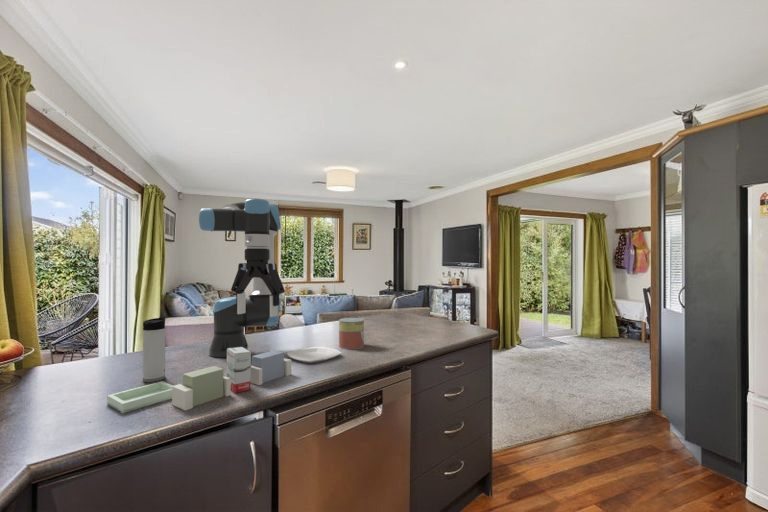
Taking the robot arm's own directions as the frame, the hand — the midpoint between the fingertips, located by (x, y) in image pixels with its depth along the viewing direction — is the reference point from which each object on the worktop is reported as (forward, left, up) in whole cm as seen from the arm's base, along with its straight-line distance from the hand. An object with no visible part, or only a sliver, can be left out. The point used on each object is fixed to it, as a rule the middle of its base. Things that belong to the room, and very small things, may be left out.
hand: (257, 315), depth 116 cm
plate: (-8, +32, -22) cm, 40 cm away
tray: (-15, -27, -22) cm, 37 cm away
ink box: (-2, -6, -22) cm, 23 cm away
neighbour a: (-2, -17, -22) cm, 28 cm away
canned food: (-7, +54, -22) cm, 59 cm away
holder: (-2, -6, -22) cm, 23 cm away
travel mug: (-32, -17, -22) cm, 42 cm away
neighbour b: (-2, +5, -22) cm, 23 cm away
